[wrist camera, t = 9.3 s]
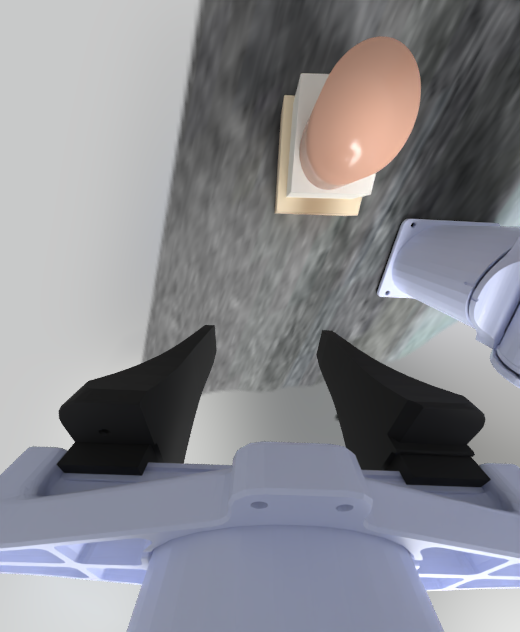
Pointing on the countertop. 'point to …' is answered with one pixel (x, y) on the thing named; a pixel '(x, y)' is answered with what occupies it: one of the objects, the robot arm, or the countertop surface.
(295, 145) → the top block
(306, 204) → the base block
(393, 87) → the pink oval piece
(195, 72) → the countertop surface
